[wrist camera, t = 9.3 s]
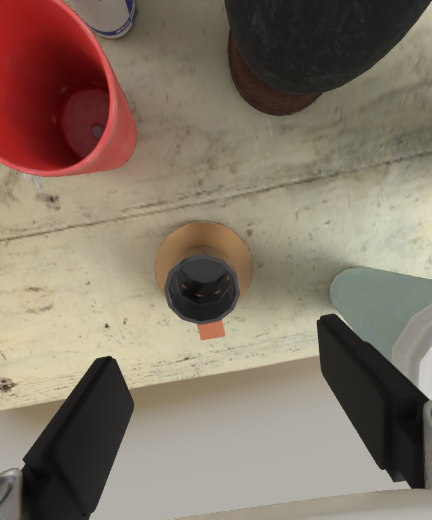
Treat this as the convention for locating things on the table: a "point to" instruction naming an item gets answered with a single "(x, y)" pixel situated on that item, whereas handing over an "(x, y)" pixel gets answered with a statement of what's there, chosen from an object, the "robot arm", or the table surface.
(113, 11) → the energy drink
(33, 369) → the table surface
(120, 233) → the table surface
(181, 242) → the disc
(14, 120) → the flower pot
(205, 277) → the hollow tube
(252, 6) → the ball on stand
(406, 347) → the disposable coffee cup
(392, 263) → the table surface
